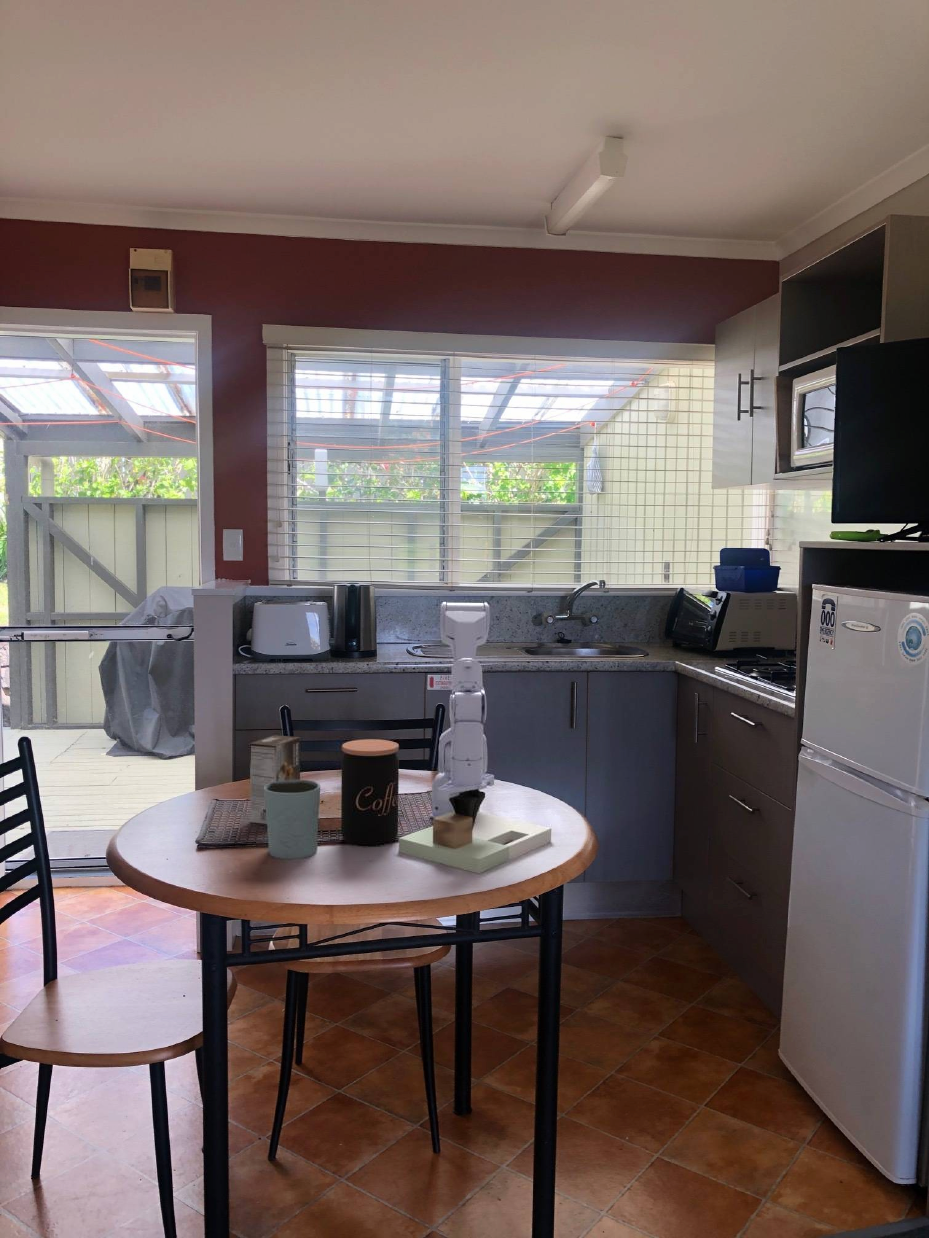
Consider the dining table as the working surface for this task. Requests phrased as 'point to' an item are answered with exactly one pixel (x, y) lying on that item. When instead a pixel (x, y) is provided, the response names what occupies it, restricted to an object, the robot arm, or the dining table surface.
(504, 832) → the pale green slotted tray
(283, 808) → the pale green cup
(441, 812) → the robot arm
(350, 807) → the coffee jar
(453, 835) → the block
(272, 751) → the coffee box
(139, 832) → the dining table surface
